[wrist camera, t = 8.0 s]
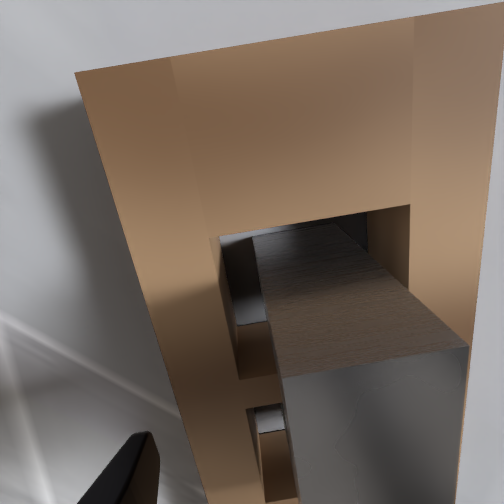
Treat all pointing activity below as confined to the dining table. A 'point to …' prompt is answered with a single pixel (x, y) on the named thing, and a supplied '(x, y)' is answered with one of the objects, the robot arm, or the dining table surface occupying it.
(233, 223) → the two-slot wooden tray
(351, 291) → the clip
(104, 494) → the robot arm
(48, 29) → the dining table surface
